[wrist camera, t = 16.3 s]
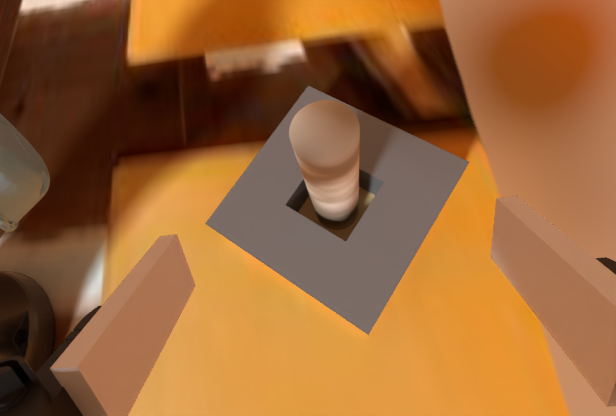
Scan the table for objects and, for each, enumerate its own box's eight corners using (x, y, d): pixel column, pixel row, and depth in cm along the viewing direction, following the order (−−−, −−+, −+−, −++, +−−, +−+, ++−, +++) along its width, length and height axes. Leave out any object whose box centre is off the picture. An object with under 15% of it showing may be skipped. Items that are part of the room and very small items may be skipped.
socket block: (226, 237, 34) (205, 223, 29) (314, 116, 37) (308, 85, 33) (366, 333, 30) (368, 334, 25) (453, 185, 33) (469, 161, 28)
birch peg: (308, 216, 33) (275, 141, 20) (330, 182, 33) (314, 89, 20) (343, 237, 31) (335, 174, 18) (366, 202, 32) (373, 117, 19)
